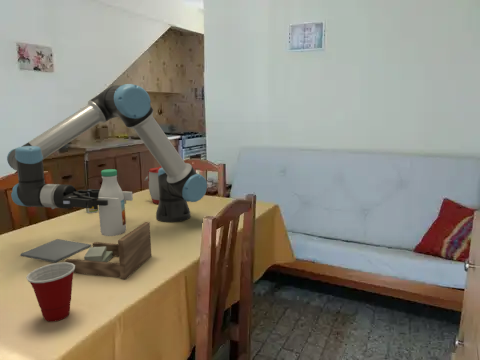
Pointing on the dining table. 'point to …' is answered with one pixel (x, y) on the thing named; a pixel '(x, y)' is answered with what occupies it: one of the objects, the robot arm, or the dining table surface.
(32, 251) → the slate tile
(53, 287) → the plastic cup
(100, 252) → the offcut stack
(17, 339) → the dining table surface
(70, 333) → the dining table surface
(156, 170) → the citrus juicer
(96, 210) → the supplement bottle
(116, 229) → the milk bottle
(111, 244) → the tray
